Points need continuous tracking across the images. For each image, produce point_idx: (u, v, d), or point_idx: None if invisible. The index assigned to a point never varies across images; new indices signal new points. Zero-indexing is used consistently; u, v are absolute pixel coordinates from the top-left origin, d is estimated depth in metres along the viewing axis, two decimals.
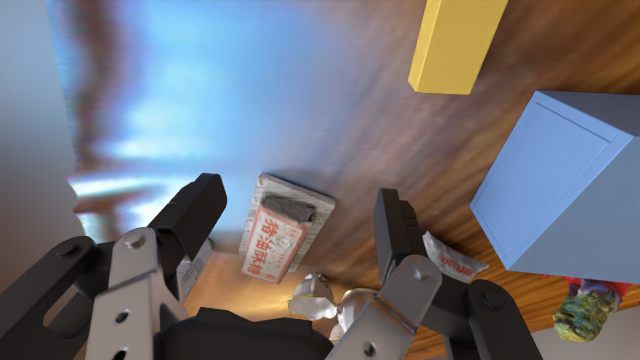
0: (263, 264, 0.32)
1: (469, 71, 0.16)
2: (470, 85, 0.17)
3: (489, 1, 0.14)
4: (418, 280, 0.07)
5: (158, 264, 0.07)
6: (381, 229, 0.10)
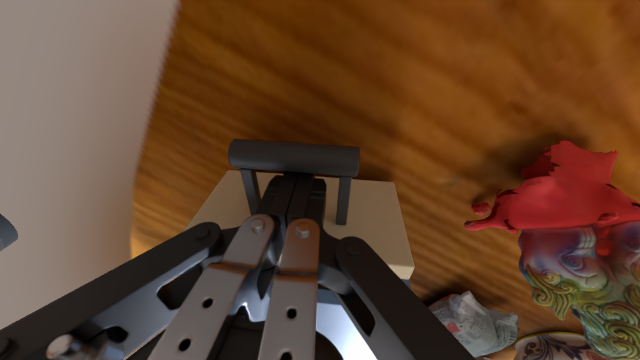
0: None
1: None
2: None
3: None
4: (296, 236, 0.08)
5: (260, 261, 0.07)
6: None
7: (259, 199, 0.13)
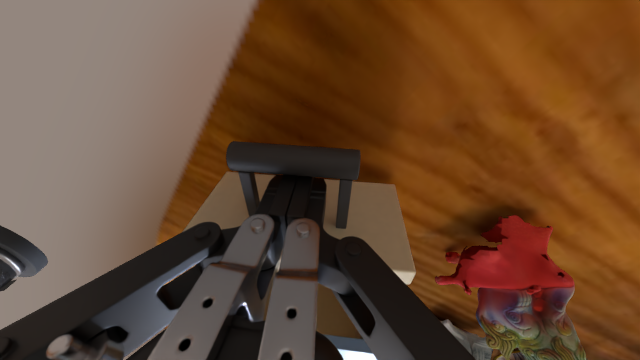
0: None
1: None
2: None
3: None
4: (296, 236, 0.08)
5: (260, 261, 0.07)
6: None
7: (258, 202, 0.13)
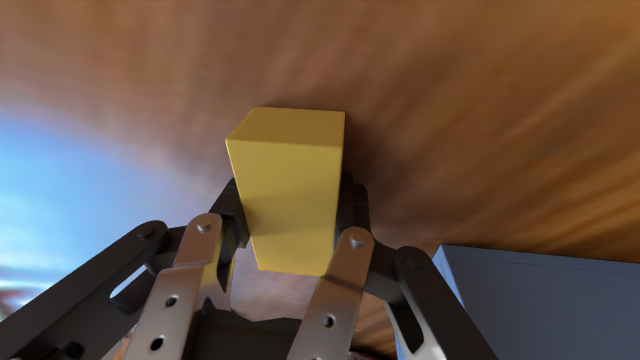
0: None
1: (318, 259, 0.11)
2: None
3: (310, 200, 0.09)
4: (352, 246, 0.08)
5: (215, 254, 0.08)
6: None
7: None
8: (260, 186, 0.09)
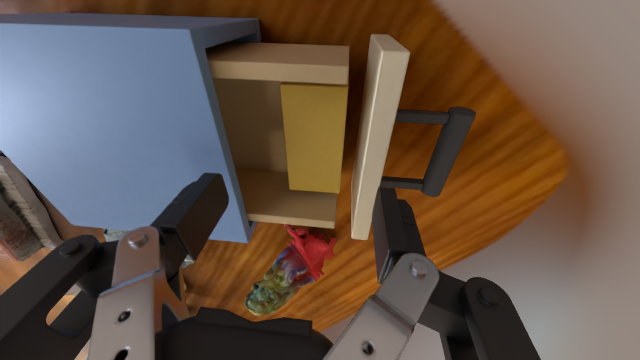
0: None
1: (331, 176, 0.17)
2: (337, 186, 0.17)
3: (327, 126, 0.15)
4: (415, 278, 0.07)
5: (161, 263, 0.07)
6: (379, 228, 0.10)
7: None
8: (297, 116, 0.14)
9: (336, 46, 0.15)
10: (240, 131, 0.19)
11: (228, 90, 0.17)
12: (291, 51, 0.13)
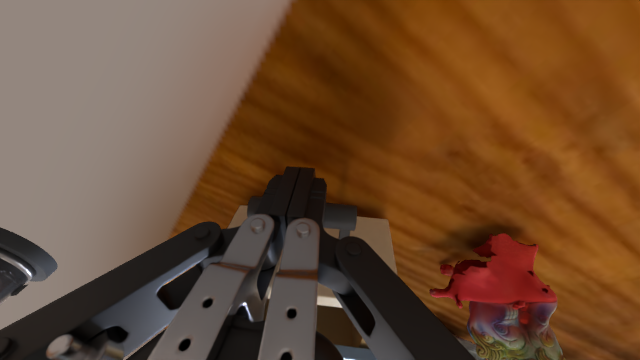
0: None
1: None
2: None
3: None
4: (296, 236, 0.08)
5: (260, 261, 0.07)
6: None
7: None
8: None
9: None
10: None
11: None
12: None
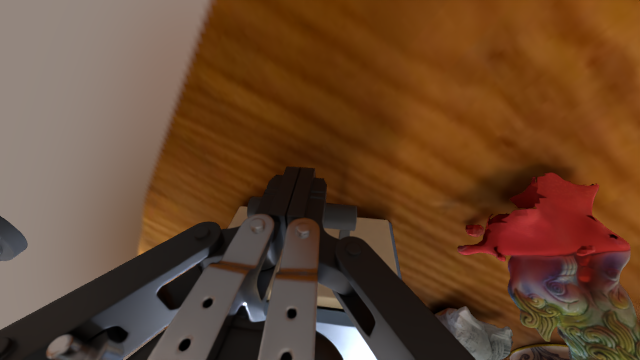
0: None
1: None
2: None
3: None
4: (296, 236, 0.08)
5: (260, 261, 0.07)
6: None
7: None
8: None
9: None
10: None
11: None
12: None
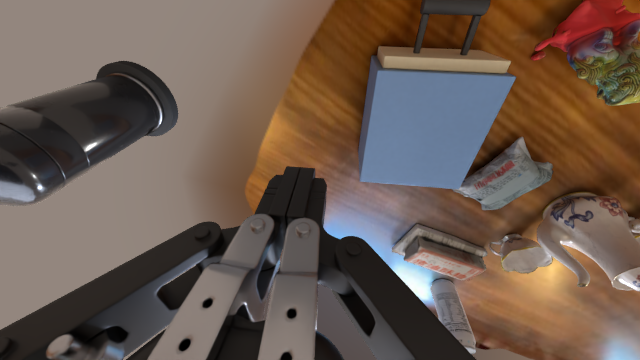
0: (455, 271, 0.50)
1: None
2: None
3: None
4: (296, 236, 0.08)
5: (260, 261, 0.07)
6: None
7: None
8: None
9: None
10: None
11: None
12: None
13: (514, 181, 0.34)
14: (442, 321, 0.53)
